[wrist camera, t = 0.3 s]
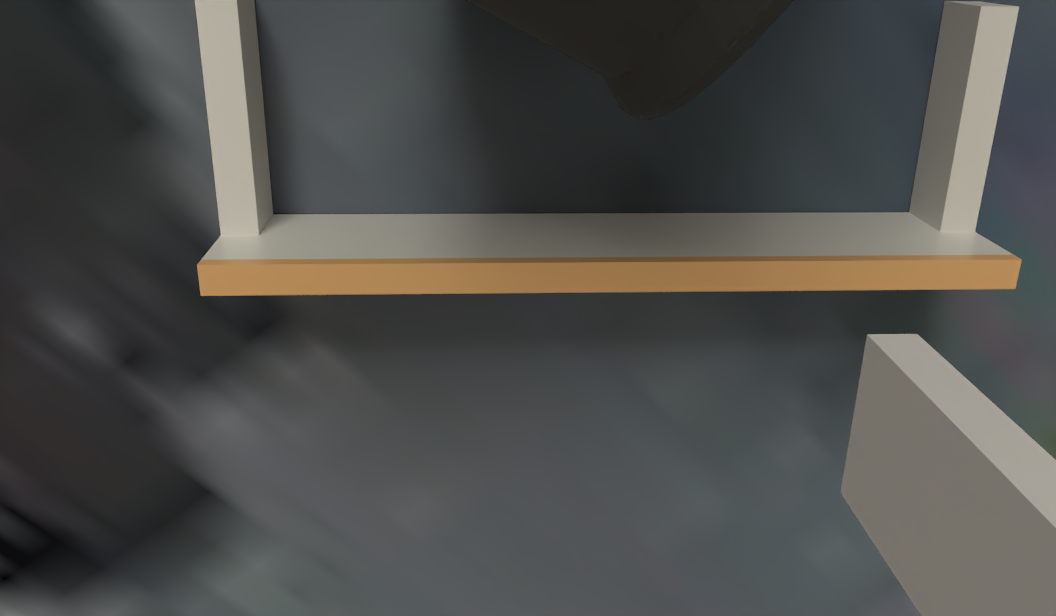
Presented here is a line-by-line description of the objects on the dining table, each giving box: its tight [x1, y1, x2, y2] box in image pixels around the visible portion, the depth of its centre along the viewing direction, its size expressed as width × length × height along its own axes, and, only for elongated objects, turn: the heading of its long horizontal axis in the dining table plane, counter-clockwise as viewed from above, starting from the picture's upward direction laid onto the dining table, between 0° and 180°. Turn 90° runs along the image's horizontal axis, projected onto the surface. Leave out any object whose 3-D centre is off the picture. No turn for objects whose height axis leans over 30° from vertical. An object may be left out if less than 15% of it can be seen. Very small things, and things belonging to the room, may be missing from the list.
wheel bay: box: [195, 0, 1022, 296], centre depth 37 cm, size 10×31×7 cm, turn 89°
